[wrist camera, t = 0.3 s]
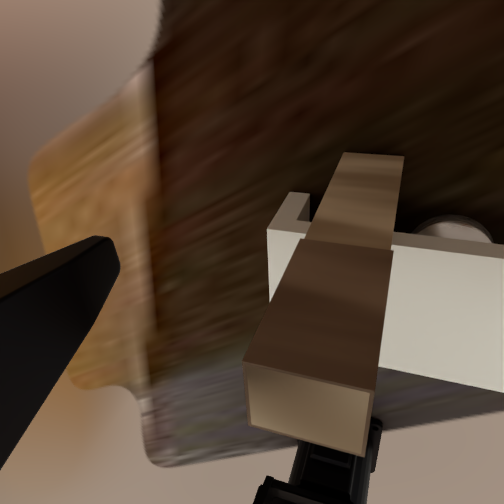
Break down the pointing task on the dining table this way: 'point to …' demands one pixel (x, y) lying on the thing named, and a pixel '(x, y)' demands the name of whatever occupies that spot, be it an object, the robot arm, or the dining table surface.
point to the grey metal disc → (454, 228)
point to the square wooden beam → (329, 314)
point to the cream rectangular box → (424, 300)
